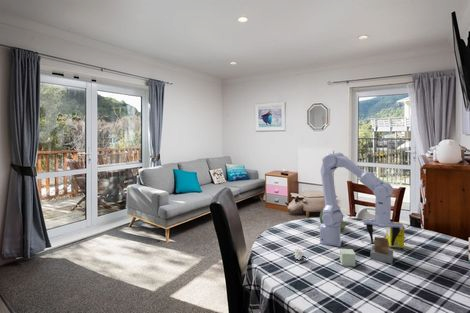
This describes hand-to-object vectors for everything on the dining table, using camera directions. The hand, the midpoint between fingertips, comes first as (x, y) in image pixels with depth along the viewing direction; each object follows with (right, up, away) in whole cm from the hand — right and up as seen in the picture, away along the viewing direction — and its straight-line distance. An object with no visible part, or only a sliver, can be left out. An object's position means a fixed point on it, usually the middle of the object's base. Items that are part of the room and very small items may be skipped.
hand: (382, 243), depth 115 cm
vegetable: (-7, -4, +39) cm, 40 cm away
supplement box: (+13, -6, +12) cm, 18 cm away
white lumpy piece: (-33, -8, +1) cm, 33 cm away
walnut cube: (0, -3, 0) cm, 3 cm away
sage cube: (-16, -7, -4) cm, 18 cm away
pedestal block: (0, -7, 0) cm, 7 cm away
